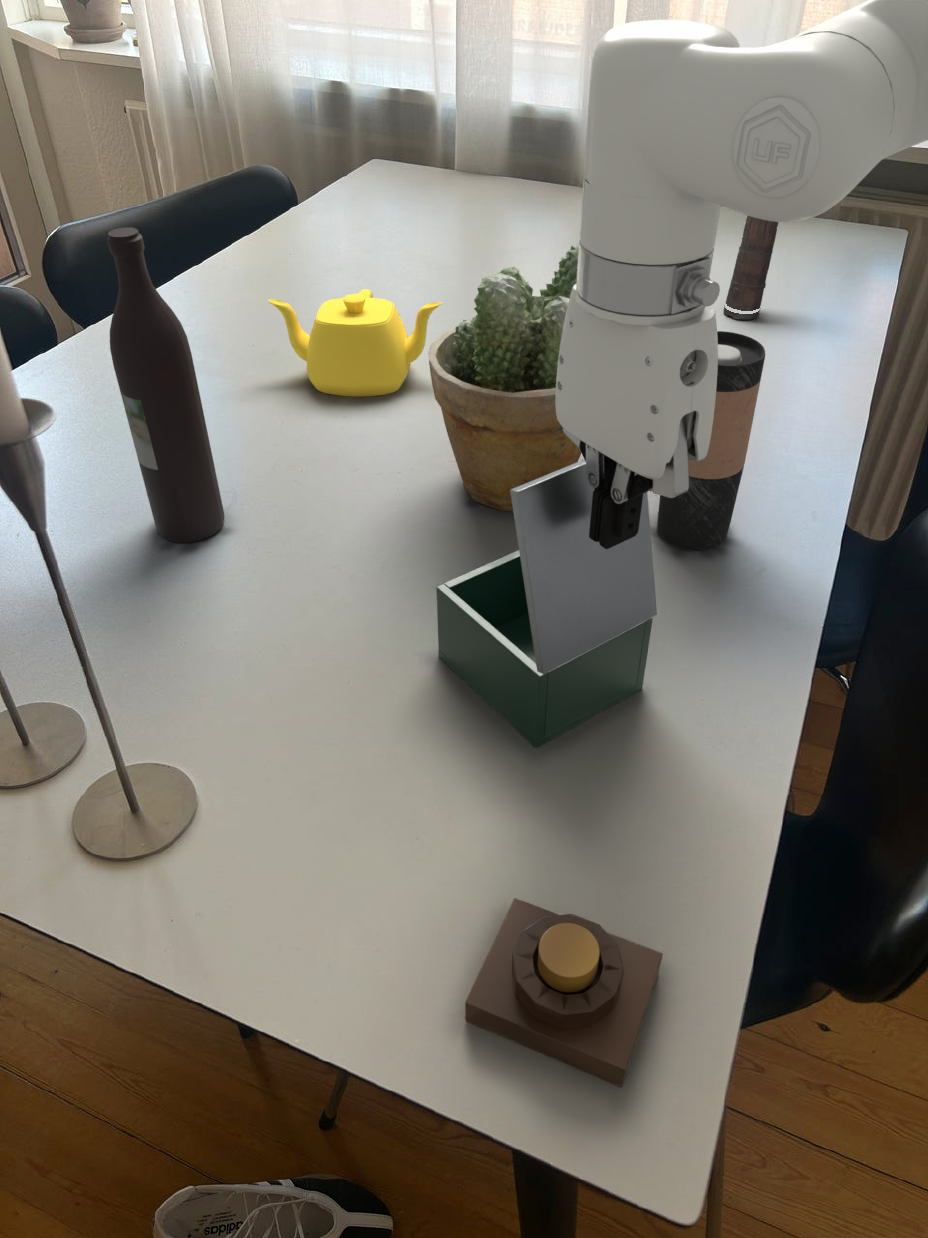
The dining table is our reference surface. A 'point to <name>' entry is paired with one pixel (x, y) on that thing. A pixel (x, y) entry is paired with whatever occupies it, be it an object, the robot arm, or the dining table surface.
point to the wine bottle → (162, 400)
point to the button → (568, 957)
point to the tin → (529, 655)
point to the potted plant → (506, 384)
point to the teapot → (357, 344)
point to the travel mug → (718, 452)
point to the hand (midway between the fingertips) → (613, 536)
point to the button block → (565, 995)
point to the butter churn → (751, 267)
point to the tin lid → (577, 569)
